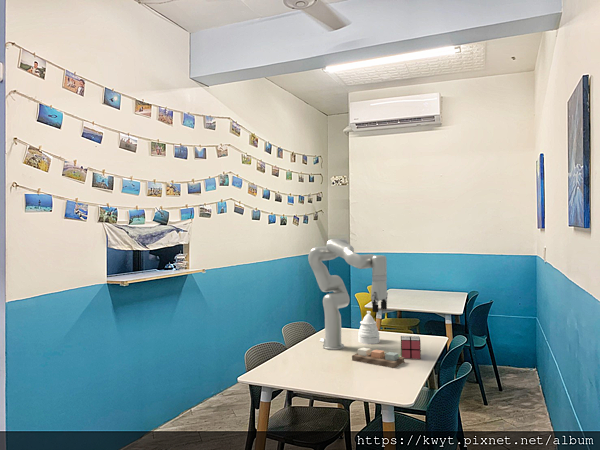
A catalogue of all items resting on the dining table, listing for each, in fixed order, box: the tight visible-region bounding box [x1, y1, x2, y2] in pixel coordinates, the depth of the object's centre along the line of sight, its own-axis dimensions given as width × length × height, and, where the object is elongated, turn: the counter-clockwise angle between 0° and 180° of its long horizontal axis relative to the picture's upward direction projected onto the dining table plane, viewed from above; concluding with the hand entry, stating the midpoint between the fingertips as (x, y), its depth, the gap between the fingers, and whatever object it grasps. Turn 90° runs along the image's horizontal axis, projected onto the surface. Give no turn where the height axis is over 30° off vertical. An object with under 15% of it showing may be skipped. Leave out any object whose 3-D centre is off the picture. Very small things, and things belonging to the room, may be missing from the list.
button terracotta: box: [371, 349, 385, 359], centre depth 237 cm, size 5×5×3 cm
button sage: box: [384, 351, 400, 361], centre depth 232 cm, size 5×5×3 cm
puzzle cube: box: [400, 335, 422, 360], centre depth 245 cm, size 10×10×10 cm
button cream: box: [357, 347, 372, 356], centre depth 242 cm, size 5×5×3 cm
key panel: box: [351, 352, 405, 369], centre depth 237 cm, size 24×12×2 cm, turn 52°
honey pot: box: [357, 310, 380, 345], centre depth 280 cm, size 13×13×18 cm
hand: (379, 310), depth 244 cm, fingers open, 9 cm apart
